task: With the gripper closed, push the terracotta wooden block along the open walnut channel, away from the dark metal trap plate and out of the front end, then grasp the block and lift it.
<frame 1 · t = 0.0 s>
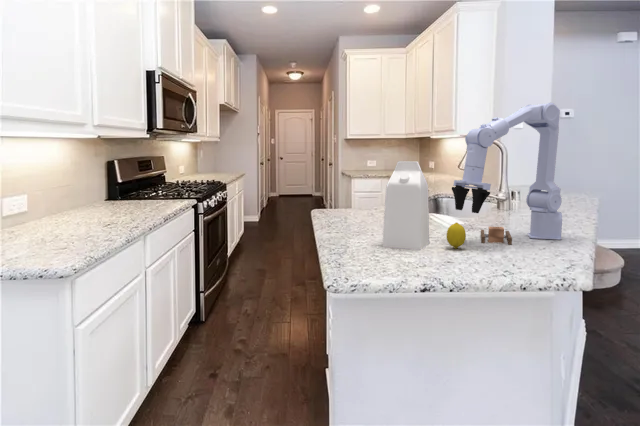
hand: (466, 211, 149), 11 cm above the countertop, tool pointing down, fingers open, 7 cm apart
block: (495, 241, 156), on the countertop
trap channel: (495, 239, 158), on the countertop
lemon: (455, 249, 145), on the countertop
milk: (406, 245, 151), on the countertop
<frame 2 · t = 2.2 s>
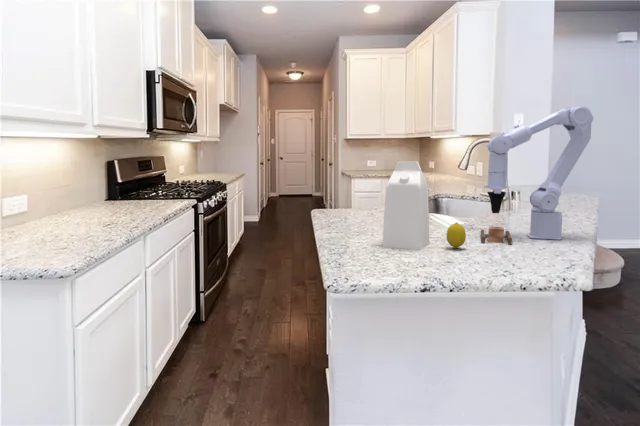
hand: (495, 213, 163), 8 cm above the countertop, tool pointing down, fingers closed
nothing on the countertop moved.
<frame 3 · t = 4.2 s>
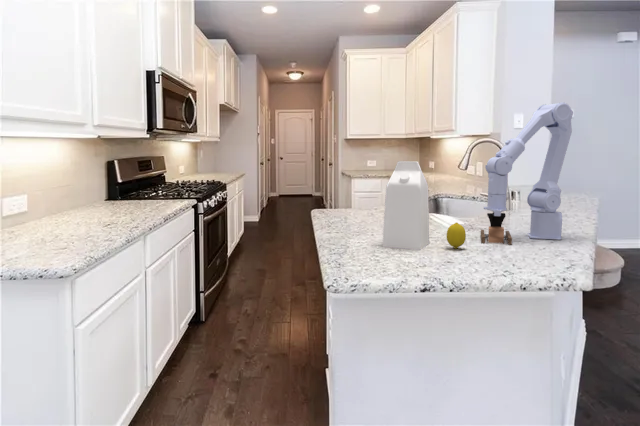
hand: (495, 235, 159), 1 cm above the countertop, tool pointing down, fingers closed
block: (495, 241, 156), on the countertop, touching gripper
everything else where it was.
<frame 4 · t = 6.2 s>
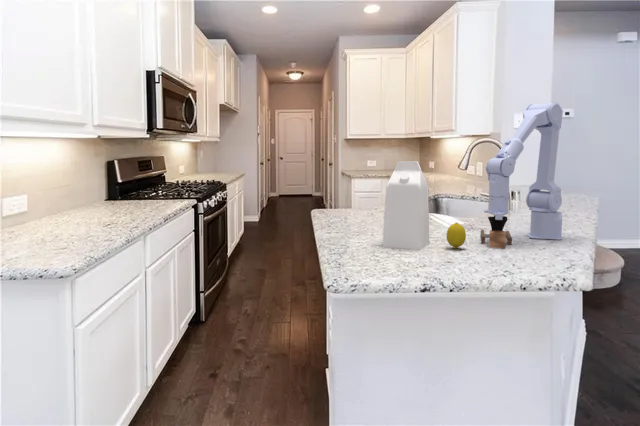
hand: (496, 239, 152), 1 cm above the countertop, tool pointing down, fingers closed
block: (497, 246, 148), on the countertop, touching gripper
everything else where it was.
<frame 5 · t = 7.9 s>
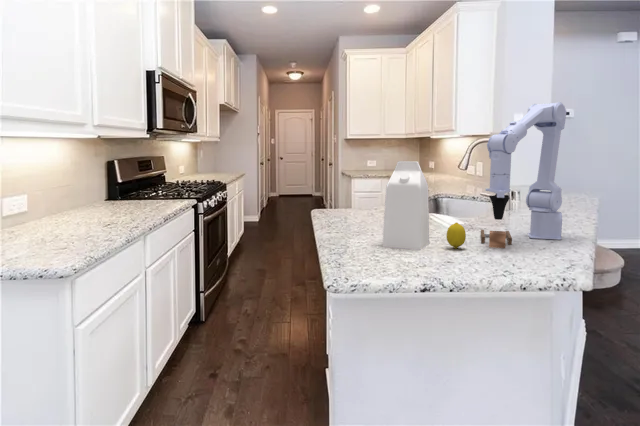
hand: (498, 218, 147), 8 cm above the countertop, tool pointing down, fingers closed
block: (496, 246, 148), on the countertop
everything else where it was.
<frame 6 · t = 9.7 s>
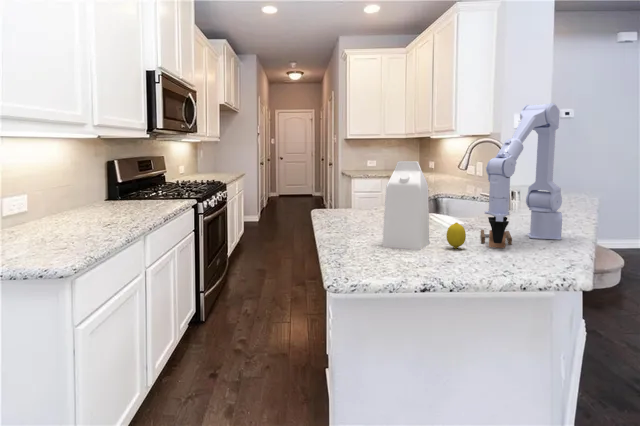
hand: (497, 241, 148), 1 cm above the countertop, tool pointing down, fingers closed on block, 4 cm apart
block: (496, 246, 149), on the countertop, touching gripper
everything else where it was.
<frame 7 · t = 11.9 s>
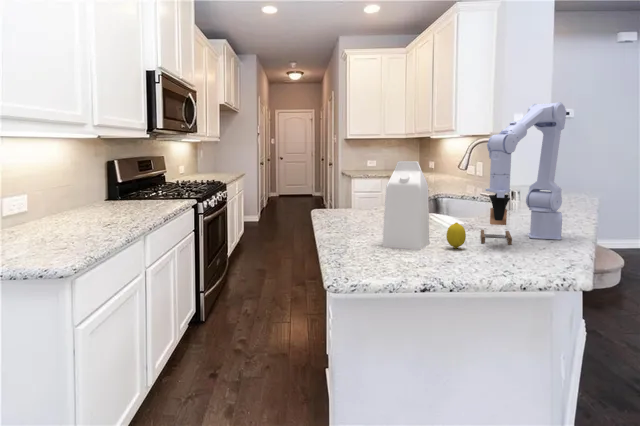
hand: (498, 219, 147), 8 cm above the countertop, tool pointing down, fingers closed on block, 4 cm apart
block: (497, 223, 148), point 7 cm above the countertop, touching gripper
everything else where it was.
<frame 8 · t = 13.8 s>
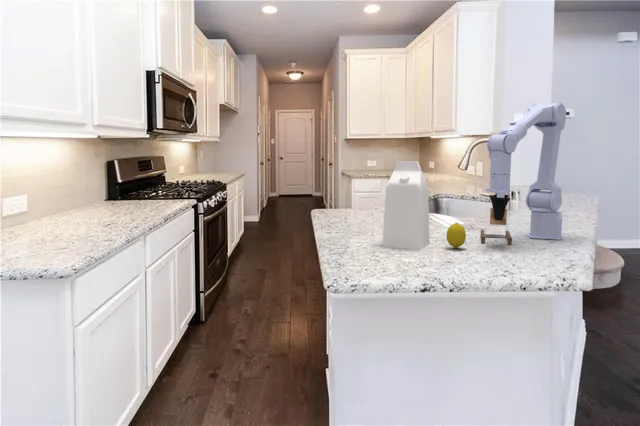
hand: (498, 219, 147), 8 cm above the countertop, tool pointing down, fingers closed on block, 4 cm apart
block: (497, 223, 148), point 7 cm above the countertop, touching gripper
everything else where it was.
at the end: block inside the target area (0.9 cm from its centre), point 7.0 cm above the countertop; block point 7.0 cm above the countertop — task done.
